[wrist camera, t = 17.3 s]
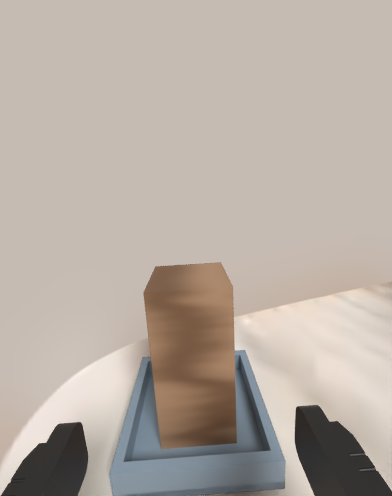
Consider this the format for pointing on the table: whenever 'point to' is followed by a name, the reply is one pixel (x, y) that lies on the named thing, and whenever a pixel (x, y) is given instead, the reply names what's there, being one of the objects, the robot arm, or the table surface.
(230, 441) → the walnut block
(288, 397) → the table surface
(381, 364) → the table surface
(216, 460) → the tray
